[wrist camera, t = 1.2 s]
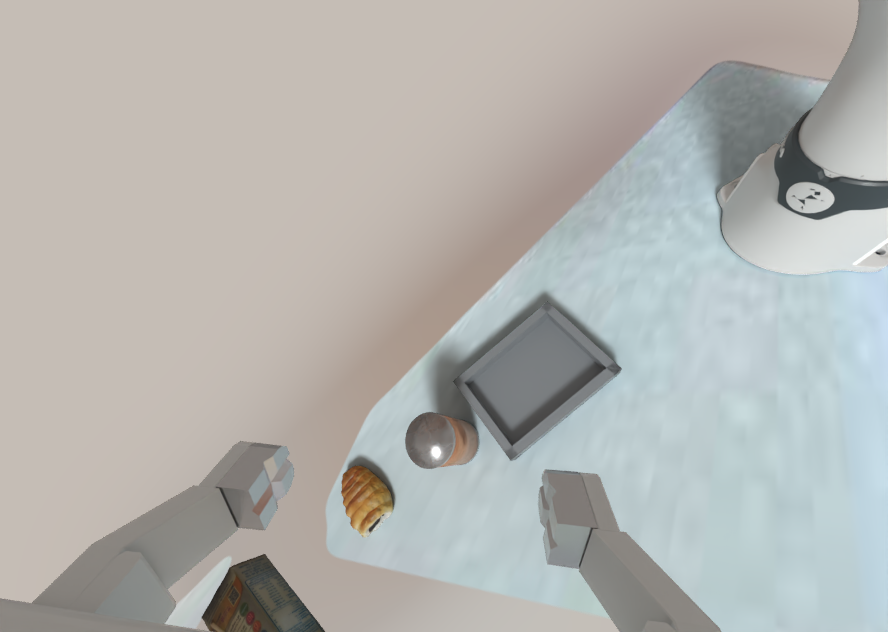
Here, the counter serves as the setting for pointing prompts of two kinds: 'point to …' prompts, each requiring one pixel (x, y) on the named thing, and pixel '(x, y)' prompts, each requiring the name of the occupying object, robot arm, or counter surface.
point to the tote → (535, 379)
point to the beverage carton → (257, 602)
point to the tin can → (441, 441)
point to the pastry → (365, 499)
